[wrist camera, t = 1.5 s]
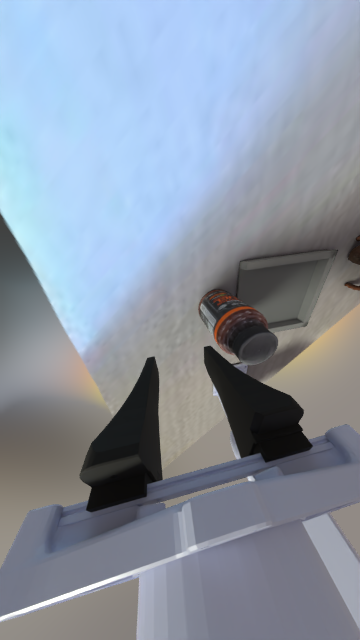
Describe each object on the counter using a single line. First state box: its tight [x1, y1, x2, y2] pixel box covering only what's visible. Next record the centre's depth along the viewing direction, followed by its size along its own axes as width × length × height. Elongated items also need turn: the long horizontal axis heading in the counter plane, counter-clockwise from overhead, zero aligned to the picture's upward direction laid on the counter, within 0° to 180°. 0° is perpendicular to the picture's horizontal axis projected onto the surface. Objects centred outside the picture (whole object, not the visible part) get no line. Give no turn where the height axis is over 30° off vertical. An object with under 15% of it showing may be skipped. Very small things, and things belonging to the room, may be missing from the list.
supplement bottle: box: [198, 290, 278, 365], centre depth 18 cm, size 6×6×11 cm
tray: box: [236, 250, 338, 333], centre depth 23 cm, size 13×14×2 cm
